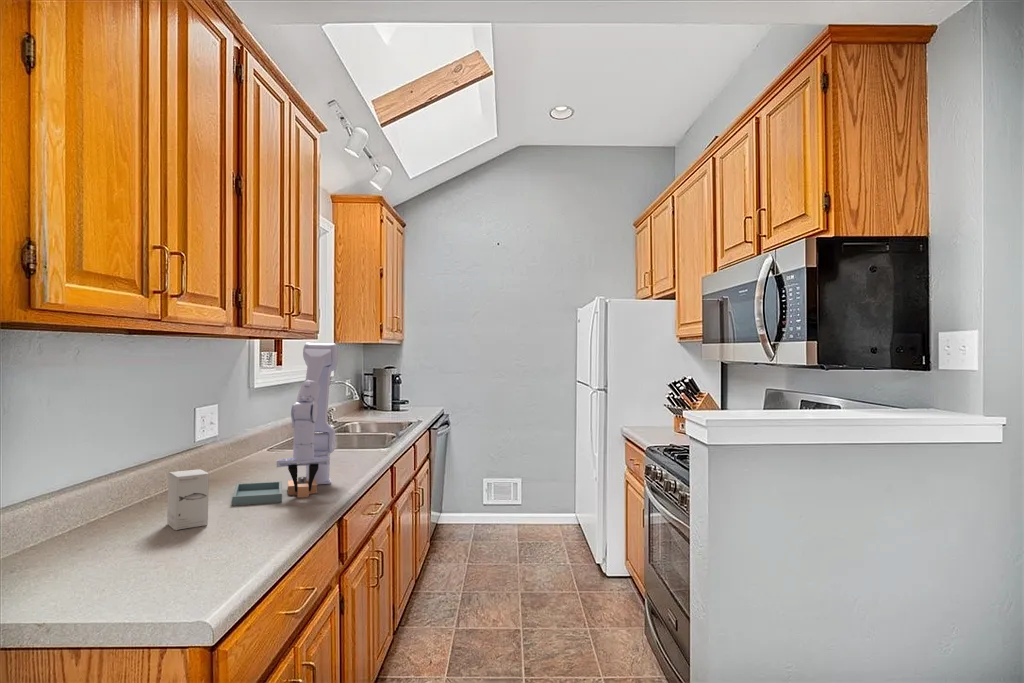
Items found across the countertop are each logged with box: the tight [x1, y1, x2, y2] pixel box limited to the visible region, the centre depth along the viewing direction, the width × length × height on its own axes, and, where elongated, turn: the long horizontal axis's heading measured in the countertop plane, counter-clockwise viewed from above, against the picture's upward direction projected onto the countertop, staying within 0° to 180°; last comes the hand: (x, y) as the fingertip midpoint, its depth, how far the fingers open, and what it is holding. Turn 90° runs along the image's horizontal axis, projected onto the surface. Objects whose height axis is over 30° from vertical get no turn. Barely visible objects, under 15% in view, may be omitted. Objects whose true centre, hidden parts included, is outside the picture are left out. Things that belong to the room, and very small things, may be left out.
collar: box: [287, 479, 318, 498], centre depth 187 cm, size 12×8×3 cm, turn 20°
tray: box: [231, 480, 283, 506], centre depth 181 cm, size 17×13×2 cm
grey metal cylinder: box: [297, 476, 307, 484], centre depth 189 cm, size 2×2×4 cm
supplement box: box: [166, 469, 210, 531], centre depth 153 cm, size 7×7×13 cm
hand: (302, 490), depth 184 cm, fingers closed on collar, 3 cm apart
